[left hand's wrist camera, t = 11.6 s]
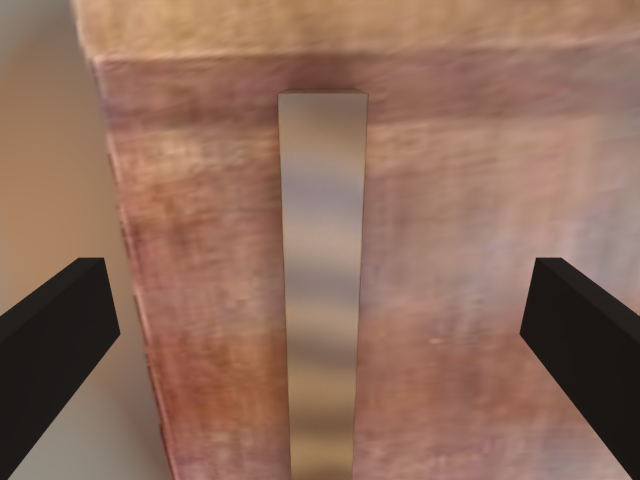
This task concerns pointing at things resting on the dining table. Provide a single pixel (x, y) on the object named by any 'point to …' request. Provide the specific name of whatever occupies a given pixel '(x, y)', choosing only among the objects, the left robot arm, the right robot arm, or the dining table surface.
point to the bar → (322, 271)
